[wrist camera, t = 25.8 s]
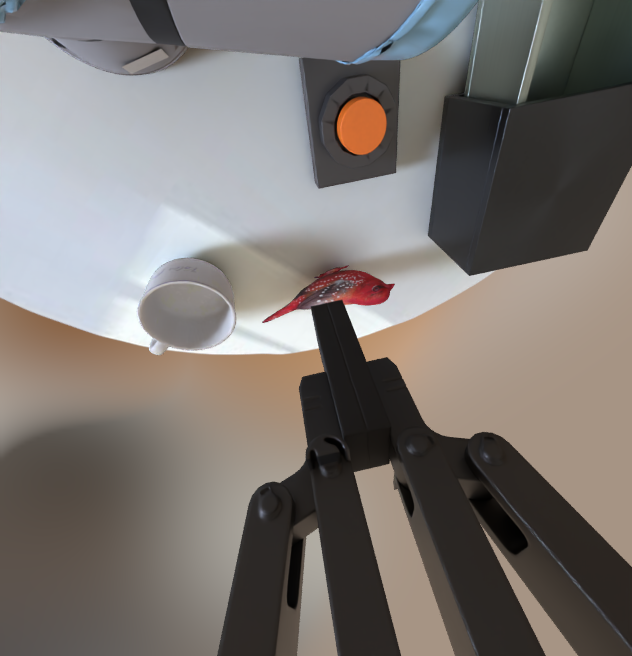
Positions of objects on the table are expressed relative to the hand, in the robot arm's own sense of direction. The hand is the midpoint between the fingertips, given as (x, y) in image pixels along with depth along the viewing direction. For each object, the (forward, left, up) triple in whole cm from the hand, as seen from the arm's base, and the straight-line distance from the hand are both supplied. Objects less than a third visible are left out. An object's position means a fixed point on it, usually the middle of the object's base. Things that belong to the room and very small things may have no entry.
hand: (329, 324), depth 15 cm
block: (-4, +8, -26) cm, 28 cm away
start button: (-4, +8, -23) cm, 24 cm away
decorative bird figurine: (+14, +2, -27) cm, 30 cm away
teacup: (+12, -16, -27) cm, 33 cm away
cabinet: (+3, +25, -26) cm, 37 cm away
